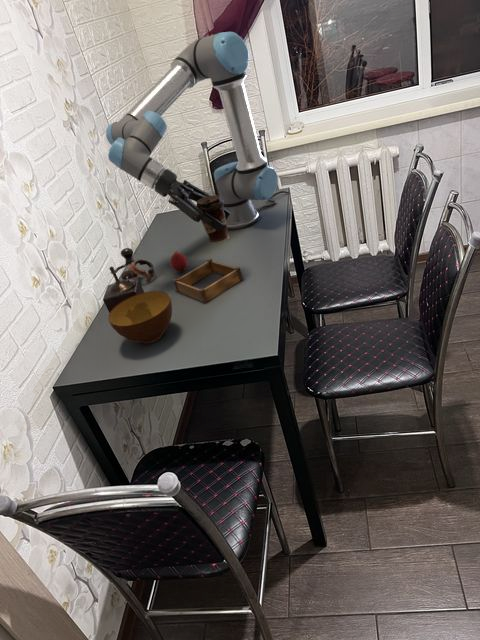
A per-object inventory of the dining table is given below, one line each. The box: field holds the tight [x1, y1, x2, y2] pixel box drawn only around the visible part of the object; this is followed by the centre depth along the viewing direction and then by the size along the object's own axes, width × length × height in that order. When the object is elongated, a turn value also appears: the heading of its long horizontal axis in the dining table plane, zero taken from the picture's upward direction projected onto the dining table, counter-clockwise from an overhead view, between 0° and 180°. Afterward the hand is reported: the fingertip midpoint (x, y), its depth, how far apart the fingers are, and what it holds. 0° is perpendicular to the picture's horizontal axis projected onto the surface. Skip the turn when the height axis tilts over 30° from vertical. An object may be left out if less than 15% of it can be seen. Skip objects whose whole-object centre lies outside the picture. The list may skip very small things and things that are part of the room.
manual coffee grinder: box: [102, 247, 146, 314], centre depth 147 cm, size 16×11×18 cm
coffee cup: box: [196, 194, 230, 244], centre depth 144 cm, size 9×8×13 cm
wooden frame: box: [172, 258, 244, 304], centre depth 152 cm, size 16×16×4 cm
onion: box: [170, 250, 188, 273], centre depth 165 cm, size 6×6×8 cm
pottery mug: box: [120, 259, 155, 283], centre depth 167 cm, size 12×10×8 cm
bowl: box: [107, 290, 173, 344], centre depth 132 cm, size 18×18×10 cm
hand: (225, 222), depth 144 cm, fingers closed on coffee cup, 8 cm apart
